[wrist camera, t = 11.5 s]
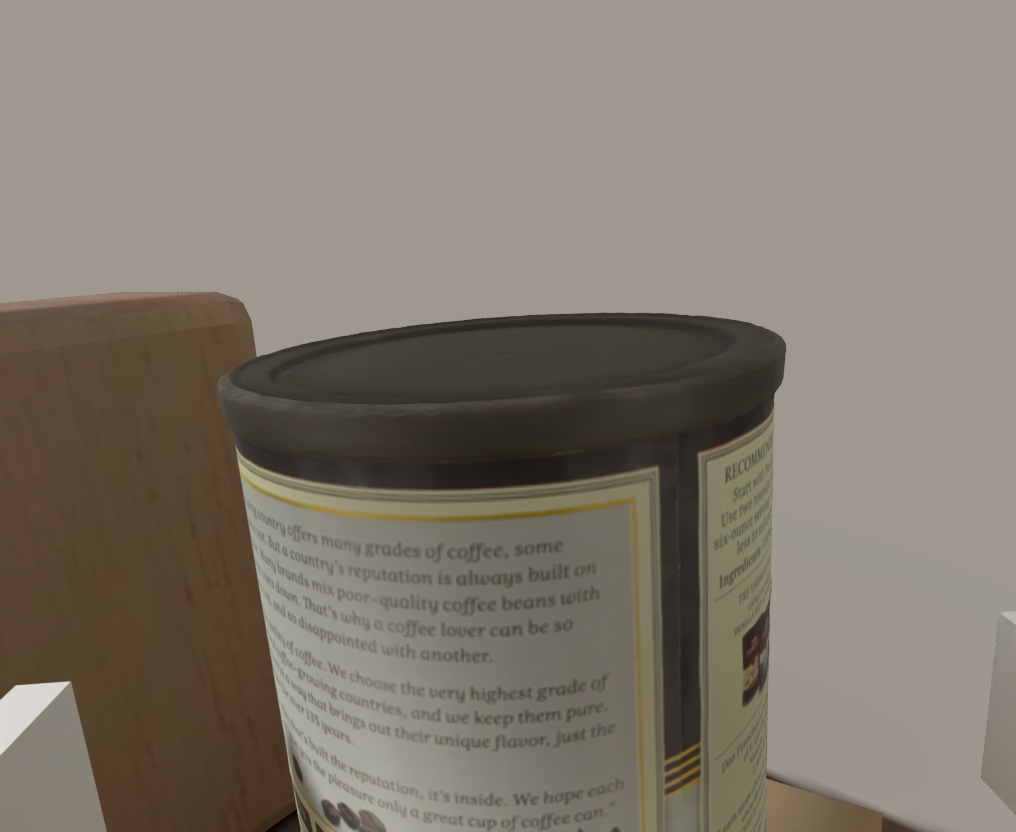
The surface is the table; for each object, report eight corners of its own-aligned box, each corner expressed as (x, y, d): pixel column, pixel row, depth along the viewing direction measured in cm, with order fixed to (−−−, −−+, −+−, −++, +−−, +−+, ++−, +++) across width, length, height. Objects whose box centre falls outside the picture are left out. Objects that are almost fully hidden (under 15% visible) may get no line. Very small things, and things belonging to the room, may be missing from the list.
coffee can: (375, 774, 22) (317, 325, 19) (706, 765, 22) (708, 302, 18) (243, 1207, 12) (73, 421, 9) (850, 1211, 12) (910, 376, 8)
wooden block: (213, 702, 35) (137, 290, 30) (333, 796, 28) (259, 289, 23) (-33, 832, 28) (-184, 318, 23) (50, 1000, 21) (-138, 328, 16)
